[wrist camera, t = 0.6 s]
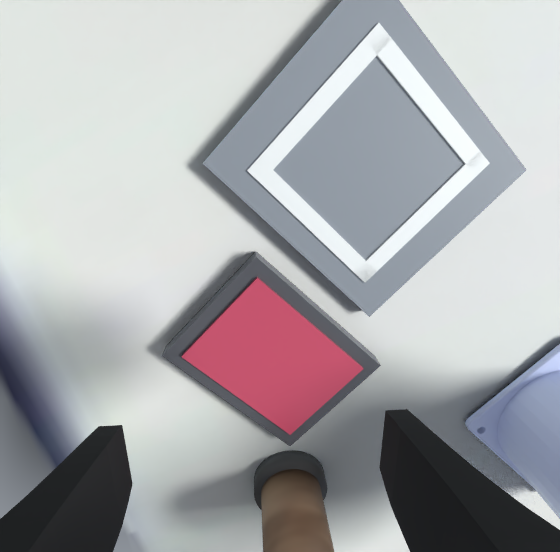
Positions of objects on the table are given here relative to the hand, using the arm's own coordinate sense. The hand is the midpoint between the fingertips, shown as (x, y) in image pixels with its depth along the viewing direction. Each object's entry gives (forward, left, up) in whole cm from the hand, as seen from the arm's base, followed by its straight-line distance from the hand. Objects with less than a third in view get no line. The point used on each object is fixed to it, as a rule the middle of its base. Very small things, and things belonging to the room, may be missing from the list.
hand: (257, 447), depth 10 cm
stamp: (-10, +7, -10) cm, 15 cm away
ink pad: (-3, +1, -10) cm, 10 cm away
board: (+1, -9, -10) cm, 13 cm away
